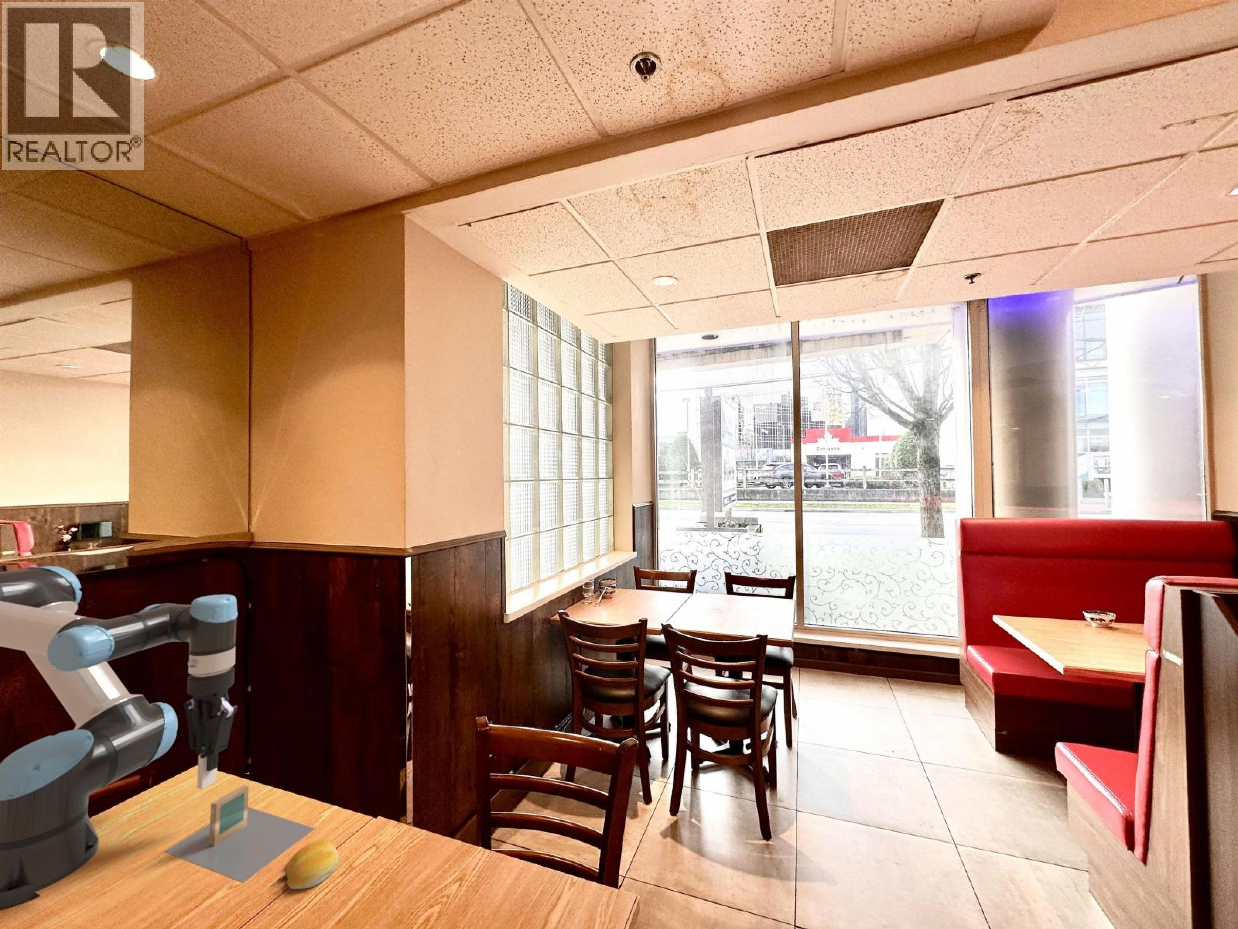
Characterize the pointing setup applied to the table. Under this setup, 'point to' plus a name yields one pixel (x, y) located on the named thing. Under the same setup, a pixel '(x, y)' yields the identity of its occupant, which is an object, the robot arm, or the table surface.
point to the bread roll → (311, 865)
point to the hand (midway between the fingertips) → (207, 784)
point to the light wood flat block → (228, 815)
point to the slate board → (242, 845)
